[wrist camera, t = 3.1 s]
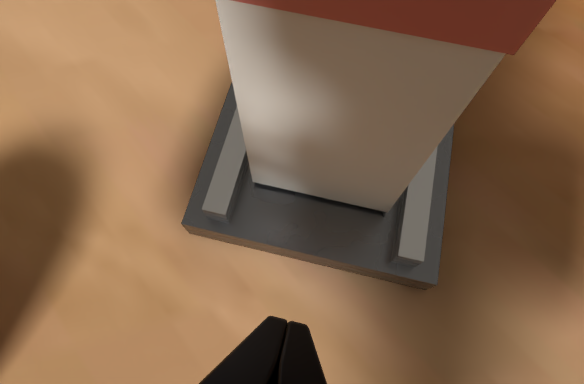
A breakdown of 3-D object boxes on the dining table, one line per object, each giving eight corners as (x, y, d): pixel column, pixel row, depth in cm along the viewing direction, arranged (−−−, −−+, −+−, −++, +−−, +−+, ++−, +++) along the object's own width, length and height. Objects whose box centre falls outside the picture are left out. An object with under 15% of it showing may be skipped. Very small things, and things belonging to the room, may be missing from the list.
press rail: (425, 290, 18) (468, 272, 13) (189, 233, 18) (160, 199, 14) (459, -6, 24) (495, -80, 20) (282, -38, 25) (282, -116, 21)
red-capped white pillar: (389, 215, 17) (559, -5, 6) (249, 183, 17) (192, -72, 7) (405, 113, 19) (558, -187, 8) (279, 87, 19) (269, -230, 9)
